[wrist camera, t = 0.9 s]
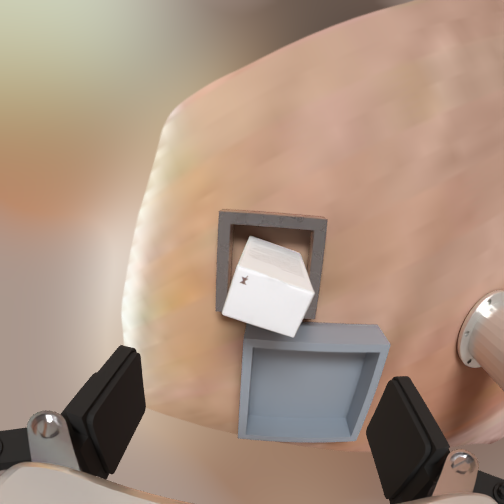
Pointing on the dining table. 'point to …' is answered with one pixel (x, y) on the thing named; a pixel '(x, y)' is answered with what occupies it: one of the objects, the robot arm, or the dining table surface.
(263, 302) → the skincare box
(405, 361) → the dining table surface
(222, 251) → the collar
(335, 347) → the bin
